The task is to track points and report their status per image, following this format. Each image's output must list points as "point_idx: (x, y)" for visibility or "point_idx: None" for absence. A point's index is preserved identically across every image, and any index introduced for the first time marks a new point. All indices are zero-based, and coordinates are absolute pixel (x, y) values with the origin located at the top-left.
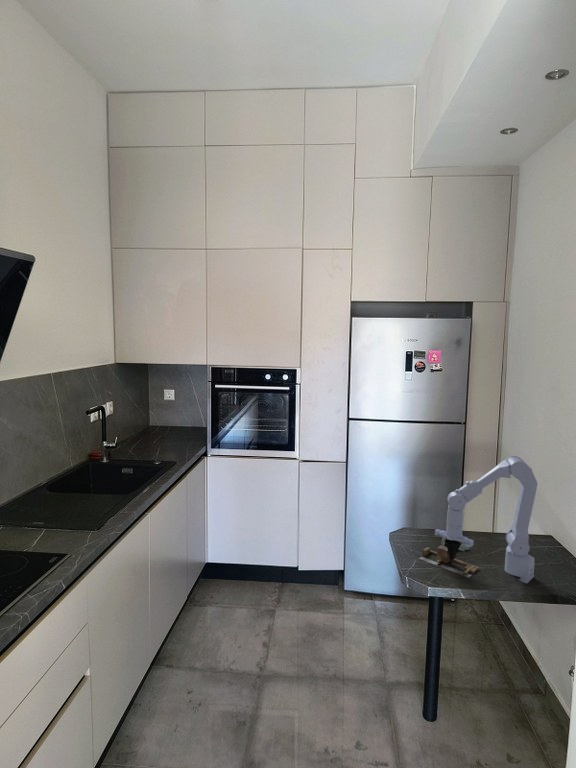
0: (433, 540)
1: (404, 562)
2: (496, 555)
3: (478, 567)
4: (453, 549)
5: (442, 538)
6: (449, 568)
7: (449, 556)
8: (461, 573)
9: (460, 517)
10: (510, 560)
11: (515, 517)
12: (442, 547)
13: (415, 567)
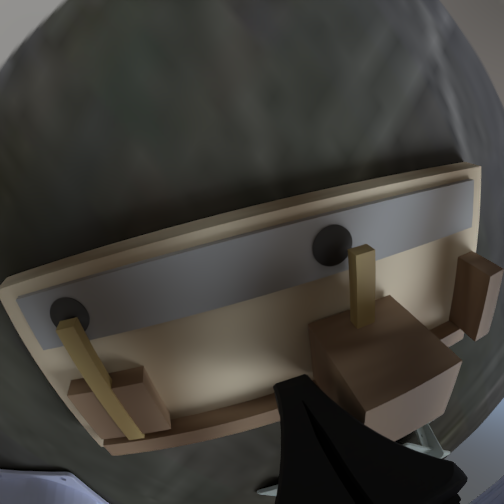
0: (455, 411)
1: (487, 94)
2: None
3: (111, 451)
4: (300, 479)
5: (441, 448)
6: (223, 275)
7: (315, 386)
8: (88, 298)
9: None
10: None
11: None
12: (426, 404)
13: (426, 80)
